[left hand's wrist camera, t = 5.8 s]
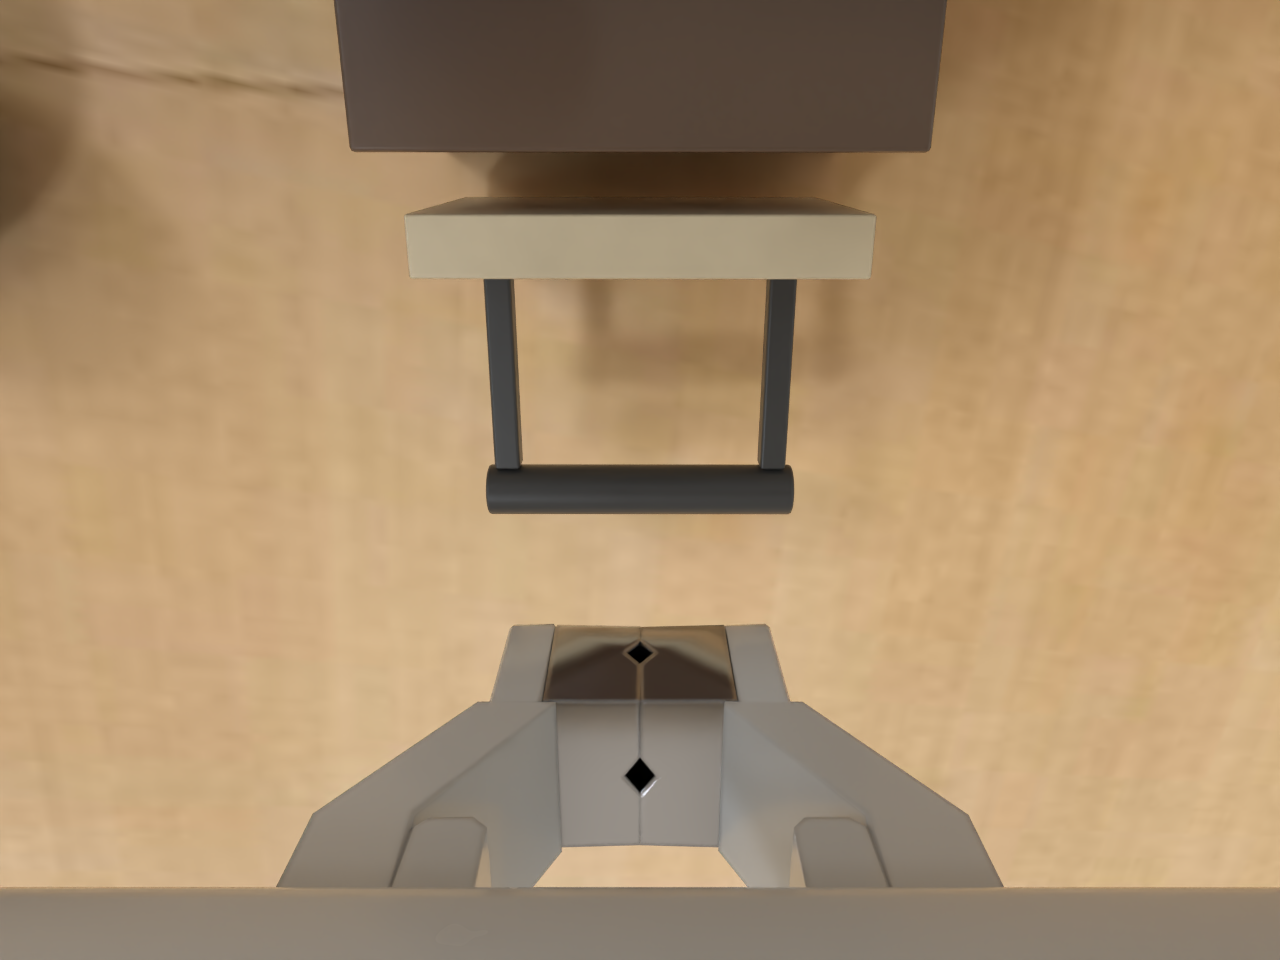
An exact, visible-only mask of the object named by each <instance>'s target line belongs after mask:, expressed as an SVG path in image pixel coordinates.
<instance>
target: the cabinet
mask: <svg viewBox="0 0 1280 960" xmlns="http://www.w3.org/2000/svg"><path fill="white" fill-rule="evenodd" d="M946 6H947V0H334V7H335V16H336V25H337V34H338V44H339V53H340V62H341V71H342V80H343V89H344V99H345V108H346V117H347V126H348V135H349V144H350V148H351V150H352V151H354V152H928V151H929V150H930V148H931V141H932V132H933V123H934V114H935V105H936V96H937V87H938V78H939V69H940V60H941V51H942V42H943V33H944V24H945V15H946Z"/></svg>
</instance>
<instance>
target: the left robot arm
mask: <svg viewBox="0 0 1280 960" xmlns="http://www.w3.org/2000/svg"><path fill="white" fill-rule="evenodd" d="M622 845H656V846H693V847H719V848H718V851H719V852H720V853H721V855H722V856H723V857H724V858H725V860H726V861H727V862H728V863H729V865H730V866H731V867H732V868H733V869H734V871H735V872H736V873H737V874H738V876H739V877H740V878H741V879H742V881H743V882H744V883H745V884H746V886H747V887H533V886H534V885H535V884H536V883H537V881H538V880H539V879H540V878H541V876H542V875H543V874H544V873H545V872H546V870H547V869H548V868H549V867H550V865H551V864H552V863H553V862H554V860H555V859H556V858H557V857H558V855H559V854H560V853H561V852H562V847H586V846H622ZM0 960H1280V887H1004V886H1003V884H1002V882H1001V880H1000V878H999V876H998V874H997V872H996V870H995V868H994V866H993V864H992V862H991V860H990V858H989V856H988V854H987V852H986V850H985V848H984V846H983V844H982V842H981V840H980V838H979V836H978V834H977V832H976V830H975V827H974V825H973V823H972V821H971V819H970V817H969V815H968V814H966V813H965V812H963V811H962V810H960V809H959V808H957V807H956V806H954V805H953V804H952V803H950V802H949V801H947V800H946V799H944V798H943V797H941V796H940V795H938V794H937V793H935V792H934V791H932V790H931V789H930V788H928V787H927V786H925V785H924V784H922V783H921V782H919V781H918V780H916V779H915V778H913V777H912V776H910V775H909V774H908V773H906V772H905V771H903V770H902V769H900V768H899V767H897V766H896V765H894V764H893V763H891V762H890V761H888V760H887V759H886V758H884V757H883V756H881V755H880V754H878V753H877V752H875V751H874V750H872V749H871V748H869V747H868V746H866V745H865V744H864V743H862V742H861V741H859V740H858V739H856V738H855V737H853V736H852V735H850V734H849V733H847V732H846V731H844V730H843V729H842V728H840V727H839V726H837V725H836V724H834V723H833V722H831V721H830V720H828V719H827V718H825V717H824V716H822V715H821V714H820V713H818V712H817V711H815V710H814V709H812V708H811V707H809V706H808V705H806V704H805V703H803V702H790V699H789V695H788V692H787V688H786V685H785V681H784V677H783V674H782V670H781V667H780V663H779V659H778V656H777V652H776V649H775V645H774V642H773V638H772V634H771V631H770V627H769V626H767V625H766V624H750V625H727V626H724V625H704V626H663V627H640V626H588V625H557V626H555V625H554V624H534V625H514V626H512V627H511V629H510V630H509V634H508V637H507V641H506V644H505V648H504V652H503V655H502V659H501V663H500V666H499V670H498V674H497V677H496V681H495V684H494V688H493V692H492V695H491V699H490V702H477V703H475V704H474V705H472V706H471V707H469V708H468V709H466V710H465V711H463V712H462V713H460V714H459V715H458V716H456V717H455V718H453V719H452V720H450V721H449V722H447V723H446V724H444V725H443V726H441V727H440V728H438V729H437V730H435V731H434V732H432V733H431V734H430V735H428V736H427V737H425V738H424V739H422V740H421V741H419V742H418V743H416V744H415V745H413V746H412V747H410V748H409V749H407V750H406V751H404V752H403V753H402V754H400V755H399V756H397V757H396V758H394V759H393V760H391V761H390V762H388V763H387V764H385V765H384V766H382V767H381V768H379V769H378V770H376V771H375V772H374V773H372V774H371V775H369V776H368V777H366V778H365V779H363V780H362V781H360V782H359V783H357V784H356V785H354V786H353V787H351V788H350V789H349V790H347V791H346V792H344V793H343V794H341V795H340V796H338V797H337V798H335V799H334V800H332V801H331V802H329V803H328V804H326V805H325V806H323V807H322V808H321V809H319V810H318V811H316V812H315V813H313V814H312V816H311V818H310V820H309V822H308V824H307V826H306V828H305V830H304V832H303V834H302V836H301V838H300V840H299V842H298V844H297V846H296V848H295V850H294V852H293V854H292V856H291V858H290V860H289V862H288V864H287V866H286V868H285V870H284V872H283V874H282V876H281V878H280V880H279V882H278V884H277V886H276V887H0Z"/></svg>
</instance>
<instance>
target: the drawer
mask: <svg viewBox="0 0 1280 960" xmlns="http://www.w3.org/2000/svg"><path fill="white" fill-rule="evenodd" d="M404 221H405V232H406V243H407V254H408V265H409V276H410V278H412V279H484V294H485V310H486V326H487V342H488V359H489V375H490V391H491V407H492V424H493V440H494V456H495V465H490V466H489V469H488V472H487V479H486V500H487V507H488V510H489V512H490V513H492V514H789V513H791V511H792V508H793V502H794V477H793V471H792V468H791V466H790V465H785V460H786V445H787V429H788V413H789V397H790V381H791V365H792V350H793V334H794V318H795V302H796V286H797V279H870V277H871V271H872V260H873V249H874V238H875V227H876V215H874V214H871V213H867V212H864V211H860V210H857V209H853V208H850V207H846V206H843V205H839V204H836V203H832V202H829V201H825V200H822V199H818V198H717V197H465V198H462V199H458V200H455V201H451V202H447V203H444V204H440V205H437V206H433V207H430V208H426V209H423V210H419V211H415V212H412V213H408V214H406V215H405V216H404ZM514 279H767V285H766V304H765V324H764V344H763V363H762V383H761V402H760V422H759V441H758V463H759V465H521V463H522V460H523V456H522V435H521V415H520V395H519V375H518V355H517V334H516V314H515V294H514Z"/></svg>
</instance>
